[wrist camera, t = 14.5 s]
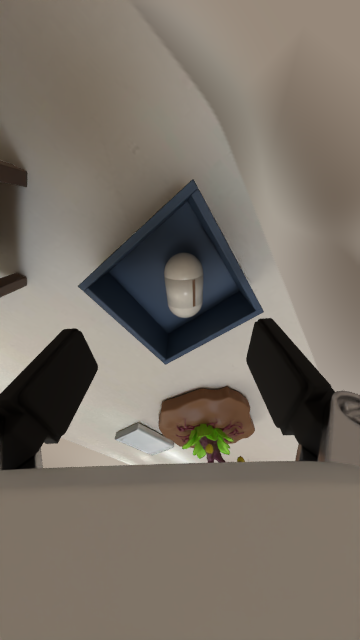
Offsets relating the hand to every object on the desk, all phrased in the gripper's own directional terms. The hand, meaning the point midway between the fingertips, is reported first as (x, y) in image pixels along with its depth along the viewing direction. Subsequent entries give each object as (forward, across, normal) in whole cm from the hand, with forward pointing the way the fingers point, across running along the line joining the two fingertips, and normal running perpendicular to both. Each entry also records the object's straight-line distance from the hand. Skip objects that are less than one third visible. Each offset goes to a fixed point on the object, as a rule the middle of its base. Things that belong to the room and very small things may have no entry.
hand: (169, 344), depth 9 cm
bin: (+12, 0, +1) cm, 12 cm away
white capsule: (+12, 0, +1) cm, 12 cm away
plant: (+12, -4, +32) cm, 34 cm away
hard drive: (+12, +10, +41) cm, 44 cm away
